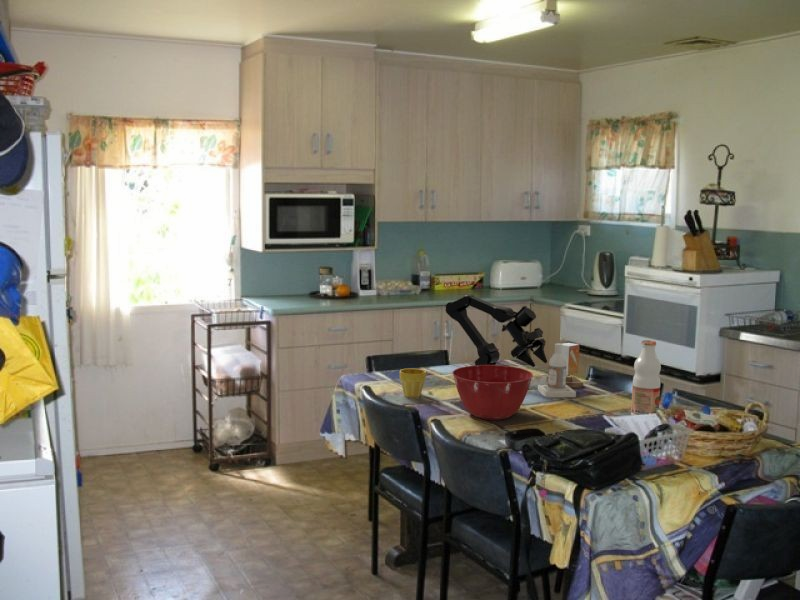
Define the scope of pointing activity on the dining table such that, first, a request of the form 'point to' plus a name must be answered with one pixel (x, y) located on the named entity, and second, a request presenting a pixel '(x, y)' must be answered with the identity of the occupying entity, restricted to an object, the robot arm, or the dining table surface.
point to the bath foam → (557, 370)
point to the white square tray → (556, 392)
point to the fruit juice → (646, 381)
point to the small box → (571, 357)
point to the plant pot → (412, 381)
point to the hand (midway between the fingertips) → (540, 364)
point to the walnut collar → (572, 382)
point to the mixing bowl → (492, 389)
